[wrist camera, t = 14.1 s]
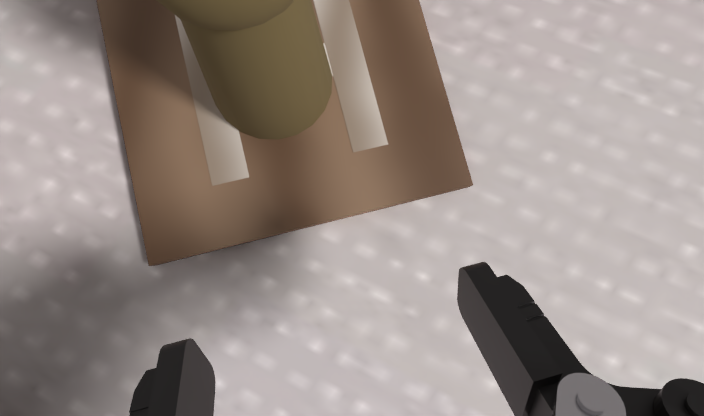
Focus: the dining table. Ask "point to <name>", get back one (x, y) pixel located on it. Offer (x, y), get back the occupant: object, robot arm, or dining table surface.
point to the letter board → (288, 153)
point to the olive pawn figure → (259, 61)
